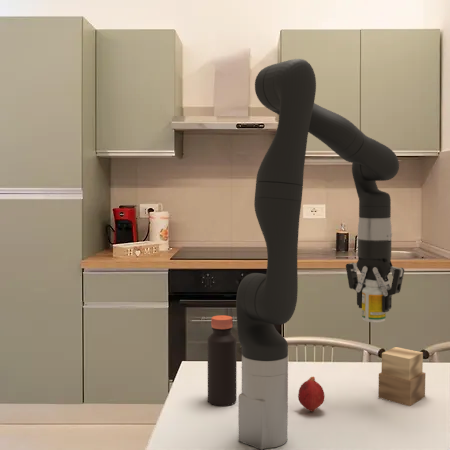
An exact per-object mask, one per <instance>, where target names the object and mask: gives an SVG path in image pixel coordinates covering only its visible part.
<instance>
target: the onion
mask: <svg viewBox="0 0 450 450" xmlns="http://www.w3.org/2000/svg"><path fill="white" fill-rule="evenodd" d="M297 397H298V401H299V403H300V405H302V406H303V408H304V409H306V410H308V411H309V412H311V413H312V412H315V411H316V410H317V409H319V408H320V407H321V406H322V405H323V403H324V402H325V392H324V389H323V386H322V385H321V384H320V383H318V381H316V377H315V376H311V377H309V378H308V379H307V380H305V381H304V382H303V383H302V384H301V385H300V387H299V390H298V395H297Z"/></svg>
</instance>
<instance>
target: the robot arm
mask: <svg viewBox="0 0 450 450" xmlns="http://www.w3.org/2000/svg"><path fill="white" fill-rule="evenodd" d="M316 79H317V78H316V74H315V71H314V68H313V67H312V65H311V64H310V63H309V62H308V61H307V60H305V59H303V58H293V59H288V60H285V61H280V62H278V63H274V64H271V65H268V66H266V67H264V68H263V69H261V70H260V71H259V72H258V73H257V75H256V78H255V81H254V91H255V95H256V97H257V99H258V101H259V102H260V103H261V104H262V105H263V106H264V107H265V108H266V109H268V110H270V111H271V112H274V113H275V114H277V115H278V124H277V127H276V130H275V131H276V132H275V135H274V137H273V139H272V141H271V142H270V143H271V144H270V145H269V147H268V149H267V151H266V153H265V155H264V157H263V159H262V161H261V163H260V165H259V168H258V171H257V173H256V180H255V188H254V189H255V191H254V201H253V202H254V211H255V216H256V219H257V223H258V225H259V228H260V230H261V232H262V233H261V234H262V235H263V238H264V241H265V245H266V250H267V251H266V253H267V263H266V264H267V265H266V273H259V272H252V273H249V274H247V275H246V276H244V277H243V278H242V280H241V281H240V283H239V284H238V285H239V286H238V288H237V292H236V299H235V300H236V301H235V302H236V303H235V307H236V308H235V309H236V310H235V311H236V331H237V339H238V342H239V344H240V347H241V393H239V394H238V441H239V442H241V443H243V444H245V445H249V446H251V447H254V448H256V449H259V450H265V449H269V448H276V447H280V446H282V445H284V444H285V443H286V442H287V441H288V424H289V423H288V422H289V421H288V418H289V416H288V412H289V410H288V409H289V408H288V407H289V406H288V404H289V403H288V402H289V401H288V399H289V395H288V394H289V393H288V392H289V391H288V390H289V387H288V386H289V377H288V376H289V343H288V341H287V339H286V338H285V337H284V336H283V335H281V334H280V333H279V331H278V330H277V329H276V326H277V325H279V326H281V325H284V324H286V323H288V322H289V321H290V320H291V318H292V317H293V315H294V313H295V310H296V306H297V303H298V293H299V291H298V289H299V288H298V287H299V286H298V284H299V283H298V281H299V280H298V278H299V277H298V245H299V233H300V232H299V228H300V218H301V217H300V216H301V209H302V199H303V189H304V173H305V172H304V171H305V170H304V169H305V162H306V154H307V153H306V152H307V144H308V136H309V134H311V135H312V136H313V137H314V138H316V139H318V140H319V141H320V142H322V143H323V144H325V145H326V147H328V148H329V149H330V150H332V152H334V153H335V154H336V155H338V156H339V157H340V158H341V159H342V160H344V161H346V162H347V163H352V165H351V173H352V178H353V182H354V186H355V189H356V190H355V191H356V193H357V197H358V224H357V258H358V259H357V261H356V262H350V263H347V264H346V265H345V269H346V271H345V272H346V276H347V281H348V288H349V289H351V290H354V291H355V292H356V304H357V306H358V308H359V309H362V290H363V288H365V287H366V285H365V279H368V280H377V282H378V284H379V287H381V290H382V292H383V295H384V296H382V312H386V313H388V312H390V310H391V309H392V304H393V303H392V300H393V299H392V296H393V295H396V294H400V293H401V288H402V283H403V279H404V274H405V268H403V267H397V266H394V265H393V263H392V237H393V230H392V221H391V214H392V212H391V209H392V207H391V201H392V200H391V195H390V194H389V193H388V192H386V191H382V190H381V189H379V188H378V185H377V182H378V181H379V182H380V181H382V182H383V181H385V182H386V181H389V180H392V179H394V178H395V177H396V176H397V174H398V173H399V169H400V162H399V159H398V155H397V154H396V153H395V152H394V151H393V150H392V149H391V148H390V147H388V146H387V145H385V144H384V143H382V142H379V141H377V140H376V139H373V137H372V138H371V137H369V136H367V135H366V134H364V132H363V131H362V130H360V129H359V128H358V127H357V126H356V125H355V124H354V123H353V122H351V120H349V119H348V118H346V117H344V116H342V115H341V114H339V113H336V112H334V111H332V110H329V109H327V108H325V107H323V106H321V105H319V104H317V103H315V101H316V100H315V99H316V92H317V91H316V90H317V80H316ZM376 181H377V182H376ZM357 271H359V272H360V275H359V278H358V272H357ZM390 273H391V276H392V277H393V278H392V282H391V280H390V277H389V274H390ZM275 325H276V326H275Z"/></svg>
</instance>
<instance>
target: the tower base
mask: <svg viewBox="0 0 450 450" xmlns="http://www.w3.org/2000/svg"><path fill="white" fill-rule="evenodd" d="M377 395H378V397H379V399H382V400H386V401H389V400H390V402H393V403H398V404H401V405H404V406H408V407H410V406H413V405H414V404H416V403H417V402H419V401H421V400H422V399H424V398H425V397H426V372H423V371H422V374H420V375H418V376H416V377H414V378H412V379H411V380H406V379H402V378H398V377H394V376H389V375H385V374H382V371H381V372H380V373H378V394H377Z"/></svg>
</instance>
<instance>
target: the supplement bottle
mask: <svg viewBox="0 0 450 450" xmlns="http://www.w3.org/2000/svg"><path fill="white" fill-rule="evenodd" d="M365 285H366V287H365V288H363V290H362V308H361V319H362V320H363V321H364V322H367V323H382V322H385V321H386V317H387V315H386V313H387V312H382V296H384V295H383V292H382V290H381V287H379V284H378V282H377V280H368V279H365Z"/></svg>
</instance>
